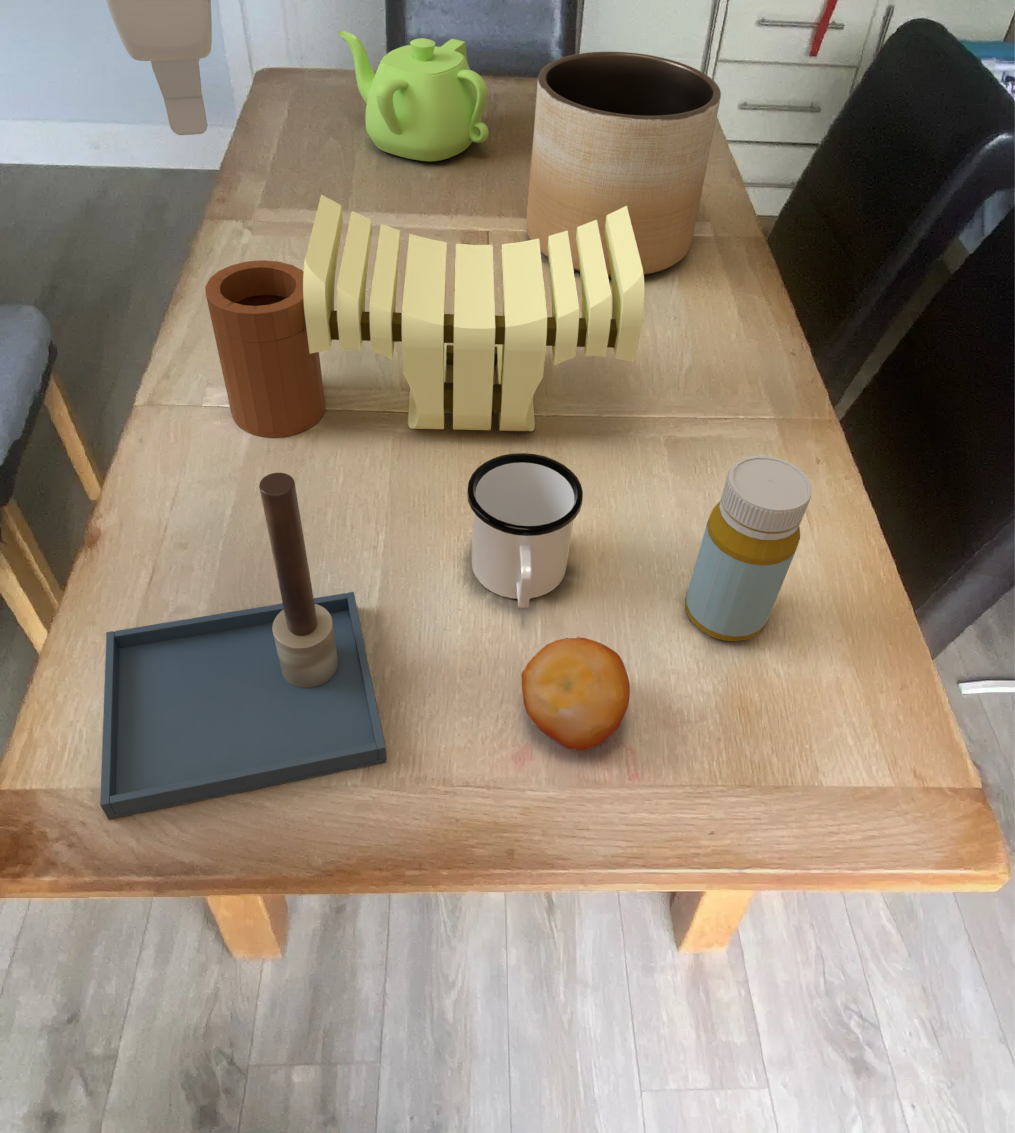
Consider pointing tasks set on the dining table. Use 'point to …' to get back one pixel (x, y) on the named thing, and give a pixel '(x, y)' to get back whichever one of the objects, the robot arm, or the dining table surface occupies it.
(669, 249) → the planter
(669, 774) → the dining table surface
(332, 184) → the dining table surface
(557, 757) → the dining table surface
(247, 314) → the terracotta utensil crock
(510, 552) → the mug
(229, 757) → the tray
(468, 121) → the teapot
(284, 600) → the bottle brush
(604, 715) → the fruit
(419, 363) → the slatted curved stool
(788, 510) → the bottle
